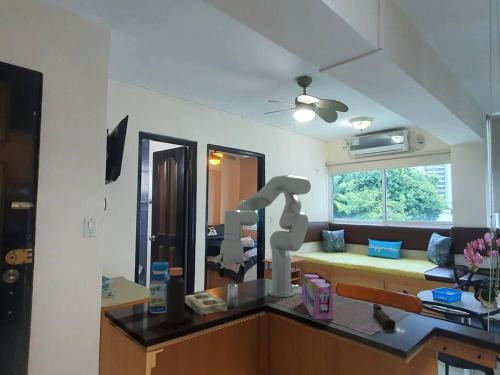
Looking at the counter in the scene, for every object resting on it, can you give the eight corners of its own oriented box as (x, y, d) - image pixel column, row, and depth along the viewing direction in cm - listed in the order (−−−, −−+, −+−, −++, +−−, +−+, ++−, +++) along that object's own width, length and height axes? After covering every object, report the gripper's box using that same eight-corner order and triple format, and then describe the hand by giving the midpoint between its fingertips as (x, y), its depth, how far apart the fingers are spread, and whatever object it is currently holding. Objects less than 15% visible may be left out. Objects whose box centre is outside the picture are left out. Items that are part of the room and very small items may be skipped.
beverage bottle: (173, 310, 134) (174, 262, 136) (155, 315, 128) (156, 265, 129) (162, 306, 140) (163, 260, 141) (145, 311, 134) (146, 262, 135)
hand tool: (396, 331, 112) (395, 318, 113) (384, 330, 113) (384, 317, 113) (381, 314, 131) (381, 302, 131) (371, 313, 132) (371, 302, 132)
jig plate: (209, 298, 152) (209, 292, 152) (227, 310, 134) (227, 303, 134) (184, 302, 146) (184, 295, 146) (200, 315, 128) (200, 307, 128)
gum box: (335, 320, 123) (334, 284, 124) (315, 321, 122) (314, 285, 123) (318, 302, 146) (317, 272, 147) (301, 302, 146) (301, 272, 147)
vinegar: (164, 320, 123) (165, 267, 124) (182, 317, 126) (182, 266, 127) (167, 326, 117) (168, 270, 118) (185, 323, 119) (186, 269, 121)
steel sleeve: (234, 303, 144) (234, 283, 145) (239, 306, 140) (239, 285, 141) (225, 305, 142) (226, 284, 142) (230, 307, 138) (230, 286, 138)
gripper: (245, 236, 150) (244, 273, 149) (211, 237, 142) (210, 276, 140) (253, 237, 144) (252, 276, 142) (218, 238, 135) (217, 279, 134)
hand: (231, 276), depth 141 cm, fingers open, 9 cm apart
